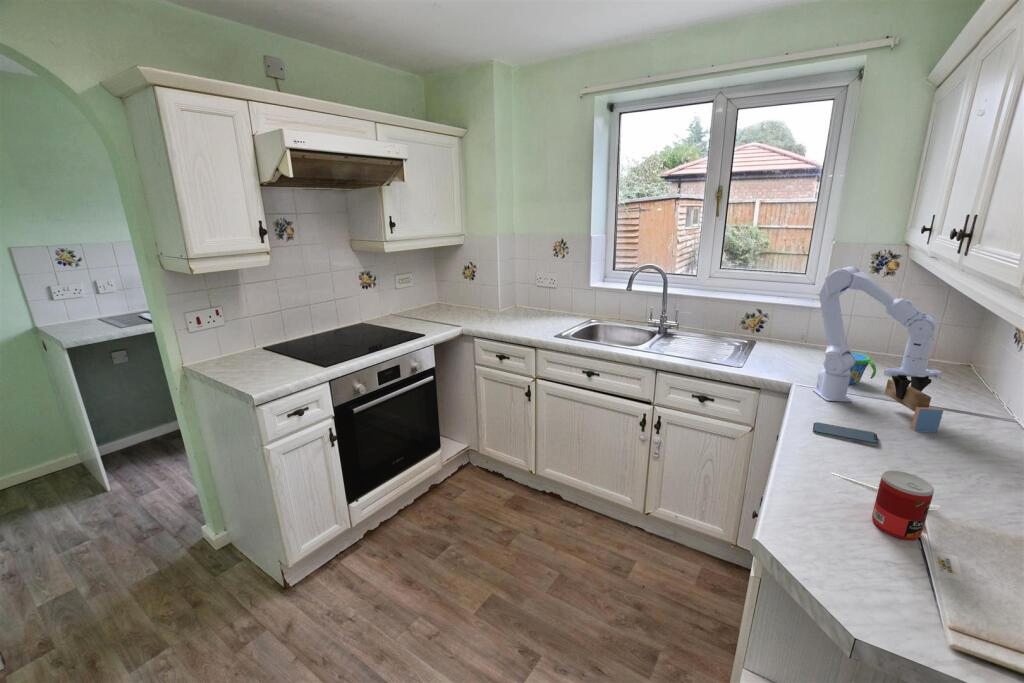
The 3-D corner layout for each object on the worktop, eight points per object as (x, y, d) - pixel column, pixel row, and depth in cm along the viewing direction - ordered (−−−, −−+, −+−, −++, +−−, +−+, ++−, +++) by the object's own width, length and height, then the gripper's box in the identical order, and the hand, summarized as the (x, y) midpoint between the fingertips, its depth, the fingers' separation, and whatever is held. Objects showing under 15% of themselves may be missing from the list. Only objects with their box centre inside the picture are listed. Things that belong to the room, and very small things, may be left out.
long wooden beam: (884, 393, 146) (888, 379, 145) (894, 394, 146) (898, 379, 145) (915, 412, 133) (920, 396, 132) (927, 413, 133) (931, 397, 131)
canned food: (914, 547, 87) (928, 498, 84) (864, 524, 94) (876, 478, 91) (925, 530, 92) (939, 483, 89) (878, 510, 98) (889, 465, 95)
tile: (910, 428, 133) (916, 406, 131) (933, 429, 132) (939, 407, 130) (914, 431, 132) (920, 409, 130) (937, 432, 131) (943, 410, 129)
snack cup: (878, 385, 165) (884, 359, 162) (862, 391, 160) (868, 363, 157) (832, 372, 178) (837, 347, 175) (816, 377, 173) (821, 352, 170)
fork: (832, 473, 113) (834, 466, 113) (939, 512, 98) (941, 504, 97) (827, 478, 111) (829, 471, 111) (936, 518, 96) (938, 510, 95)
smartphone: (814, 421, 137) (877, 432, 129) (813, 426, 137) (876, 437, 129) (812, 430, 131) (878, 443, 123) (812, 436, 132) (877, 449, 123)
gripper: (899, 360, 132) (888, 402, 136) (954, 361, 131) (942, 404, 134) (883, 352, 139) (873, 393, 143) (935, 353, 137) (924, 395, 141)
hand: (905, 398), depth 139 cm, fingers closed on long wooden beam, 3 cm apart
